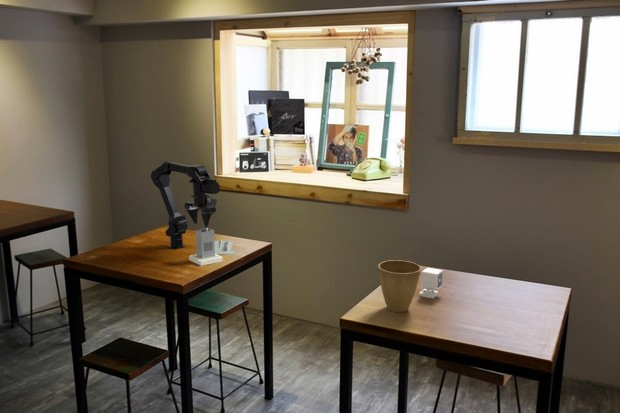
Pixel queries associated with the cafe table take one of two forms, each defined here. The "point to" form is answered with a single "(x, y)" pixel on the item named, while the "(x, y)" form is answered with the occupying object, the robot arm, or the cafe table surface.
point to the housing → (205, 243)
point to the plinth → (205, 259)
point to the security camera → (431, 282)
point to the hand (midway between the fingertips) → (201, 225)
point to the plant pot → (398, 283)
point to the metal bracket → (223, 247)
